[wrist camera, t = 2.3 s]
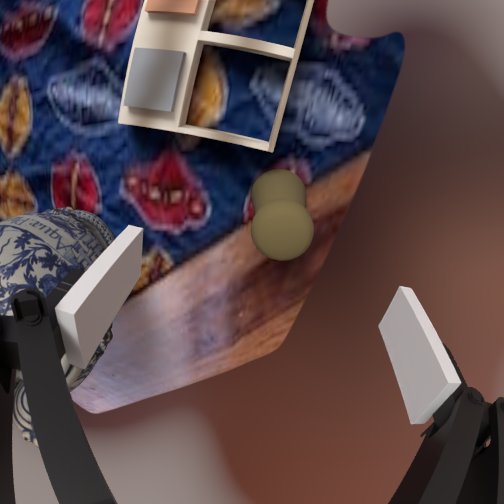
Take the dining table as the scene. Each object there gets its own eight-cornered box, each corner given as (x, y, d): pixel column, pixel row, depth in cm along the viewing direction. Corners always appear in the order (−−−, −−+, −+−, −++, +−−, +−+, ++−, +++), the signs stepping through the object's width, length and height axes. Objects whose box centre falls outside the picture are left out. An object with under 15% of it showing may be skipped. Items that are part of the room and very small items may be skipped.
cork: (292, 228, 36) (301, 281, 27) (243, 209, 36) (234, 257, 26) (314, 181, 34) (335, 220, 24) (263, 160, 33) (262, 190, 23)
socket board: (129, 120, 31) (113, 124, 27) (170, -42, 22) (159, -55, 18) (272, 147, 32) (273, 154, 29) (317, -20, 23) (323, -33, 19)
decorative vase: (161, 190, 35) (4, 393, 10) (155, 314, 44) (86, 497, 19) (22, 170, 34) (-136, 281, 9) (37, 281, 43) (-60, 410, 18)
